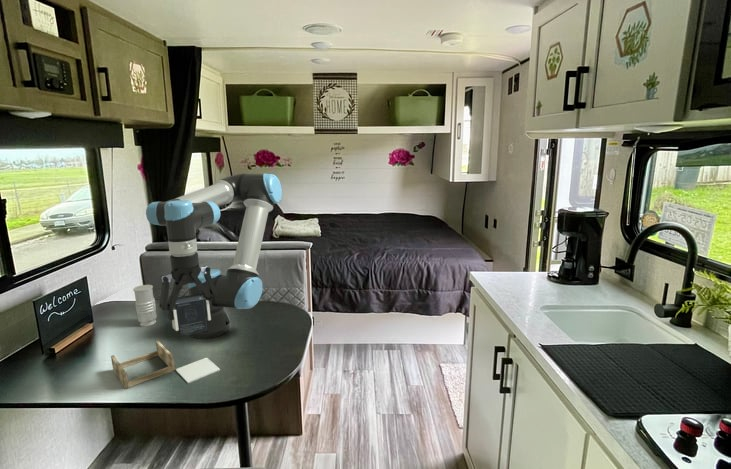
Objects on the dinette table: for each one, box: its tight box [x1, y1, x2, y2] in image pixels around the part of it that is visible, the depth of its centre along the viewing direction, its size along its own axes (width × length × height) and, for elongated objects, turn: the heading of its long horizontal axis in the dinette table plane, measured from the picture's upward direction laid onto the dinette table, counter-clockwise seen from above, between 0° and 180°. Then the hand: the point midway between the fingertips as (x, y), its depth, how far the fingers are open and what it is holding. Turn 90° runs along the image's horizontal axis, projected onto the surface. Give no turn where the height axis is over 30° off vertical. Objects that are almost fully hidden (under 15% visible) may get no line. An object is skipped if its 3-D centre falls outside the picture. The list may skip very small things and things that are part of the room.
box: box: [174, 293, 207, 337], centre depth 122 cm, size 8×6×11 cm
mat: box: [175, 357, 221, 384], centre depth 126 cm, size 10×10×1 cm
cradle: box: [110, 340, 176, 390], centre depth 126 cm, size 14×14×5 cm
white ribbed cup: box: [132, 284, 158, 327], centre depth 159 cm, size 7×7×15 cm
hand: (192, 323), depth 122 cm, fingers closed on box, 9 cm apart
